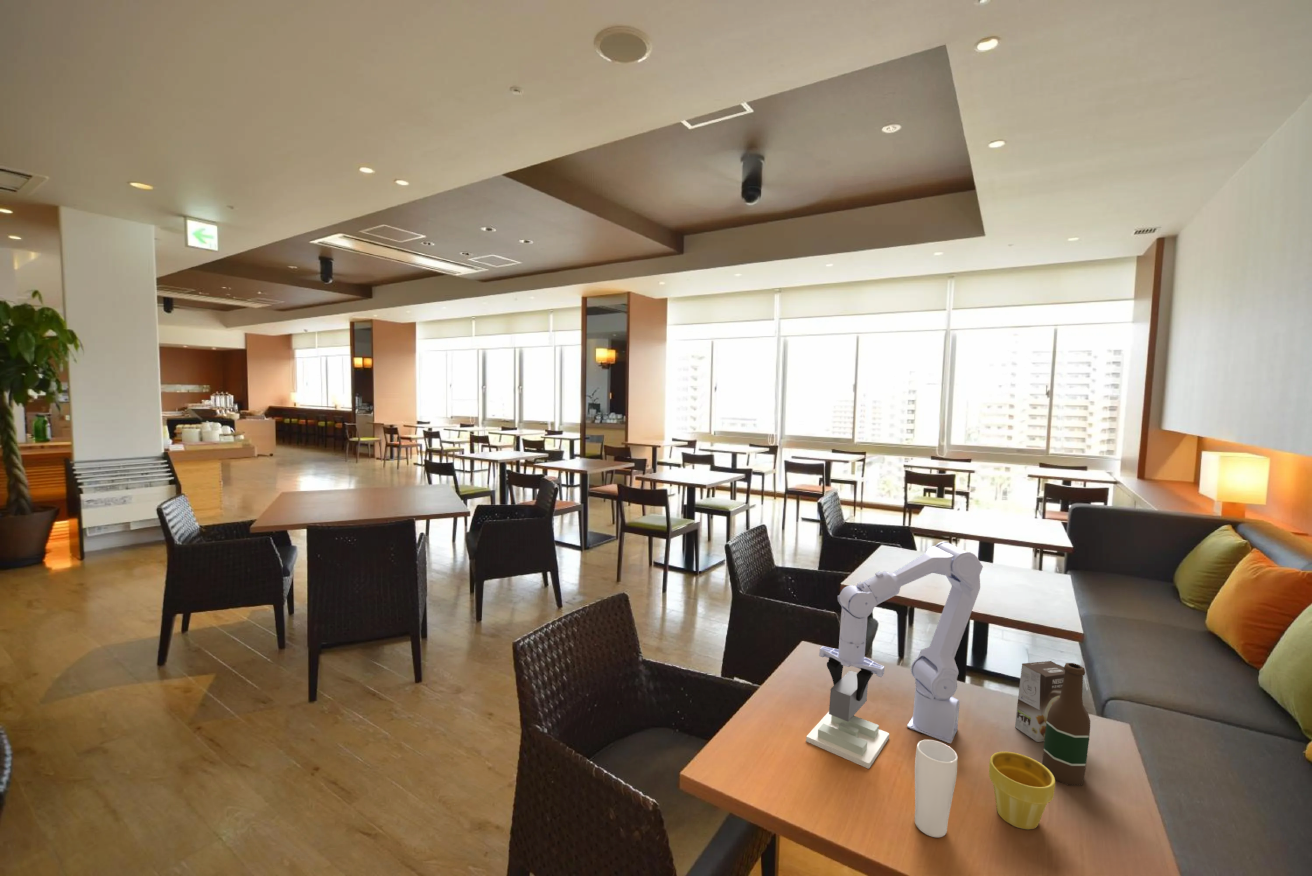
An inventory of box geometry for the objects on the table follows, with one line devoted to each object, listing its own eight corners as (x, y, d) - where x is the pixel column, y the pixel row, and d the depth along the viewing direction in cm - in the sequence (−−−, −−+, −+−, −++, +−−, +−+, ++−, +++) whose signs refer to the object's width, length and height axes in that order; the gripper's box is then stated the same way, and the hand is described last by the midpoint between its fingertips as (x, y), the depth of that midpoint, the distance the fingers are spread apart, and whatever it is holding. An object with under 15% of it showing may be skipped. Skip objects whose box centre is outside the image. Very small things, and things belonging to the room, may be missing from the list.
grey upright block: (866, 700, 137) (868, 676, 136) (848, 721, 128) (850, 696, 127) (848, 694, 140) (849, 670, 139) (828, 714, 130) (830, 688, 130)
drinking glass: (958, 843, 101) (965, 763, 100) (919, 841, 101) (926, 762, 100) (940, 815, 108) (946, 739, 106) (903, 813, 108) (910, 738, 106)
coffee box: (1038, 743, 131) (1045, 676, 130) (1013, 727, 137) (1020, 663, 136) (1068, 738, 134) (1076, 672, 132) (1043, 722, 140) (1050, 659, 138)
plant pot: (1009, 839, 102) (1014, 788, 102) (973, 797, 113) (978, 750, 112) (1063, 838, 103) (1069, 787, 102) (1023, 797, 113) (1028, 750, 113)
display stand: (888, 738, 131) (890, 725, 131) (868, 769, 120) (869, 755, 120) (829, 714, 140) (830, 703, 139) (806, 741, 129) (806, 728, 128)
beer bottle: (1077, 767, 123) (1089, 661, 121) (1091, 791, 116) (1105, 678, 113) (1035, 758, 126) (1047, 654, 123) (1047, 781, 118) (1059, 670, 116)
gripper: (815, 634, 133) (811, 690, 135) (878, 655, 124) (874, 714, 125) (827, 625, 139) (823, 679, 140) (889, 644, 130) (884, 701, 131)
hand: (848, 695), depth 133 cm, fingers closed on grey upright block, 4 cm apart
